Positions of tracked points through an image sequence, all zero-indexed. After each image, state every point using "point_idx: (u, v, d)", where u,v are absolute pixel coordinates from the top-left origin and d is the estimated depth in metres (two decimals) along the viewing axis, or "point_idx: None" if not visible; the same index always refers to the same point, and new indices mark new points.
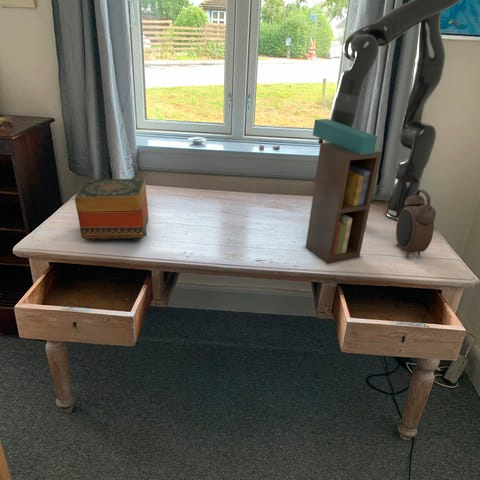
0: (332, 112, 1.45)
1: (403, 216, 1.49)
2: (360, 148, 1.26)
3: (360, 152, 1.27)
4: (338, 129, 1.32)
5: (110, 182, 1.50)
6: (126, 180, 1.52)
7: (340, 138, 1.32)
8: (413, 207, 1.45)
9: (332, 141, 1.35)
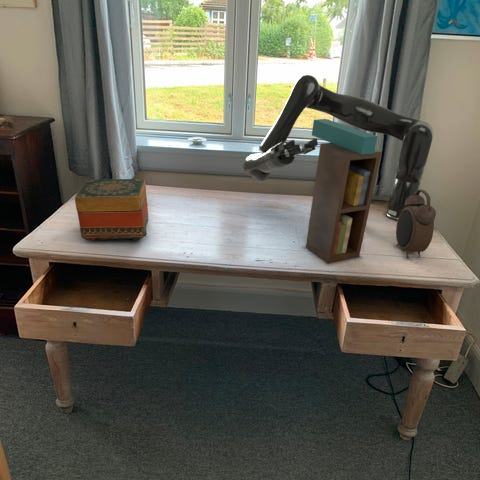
0: None
1: (403, 216, 1.49)
2: (361, 148, 1.26)
3: (361, 152, 1.27)
4: (338, 129, 1.32)
5: (110, 182, 1.50)
6: (126, 180, 1.52)
7: (340, 138, 1.32)
8: (413, 207, 1.45)
9: (332, 141, 1.35)
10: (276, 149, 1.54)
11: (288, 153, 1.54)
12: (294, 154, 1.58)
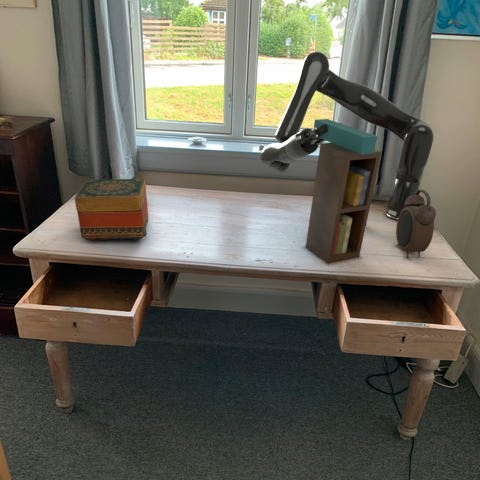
0: None
1: (403, 216, 1.49)
2: (360, 148, 1.26)
3: (360, 152, 1.27)
4: (338, 129, 1.32)
5: (110, 182, 1.50)
6: (126, 180, 1.52)
7: (340, 138, 1.32)
8: (413, 207, 1.45)
9: (332, 141, 1.35)
10: (304, 134, 1.41)
11: (317, 139, 1.42)
12: (318, 141, 1.46)
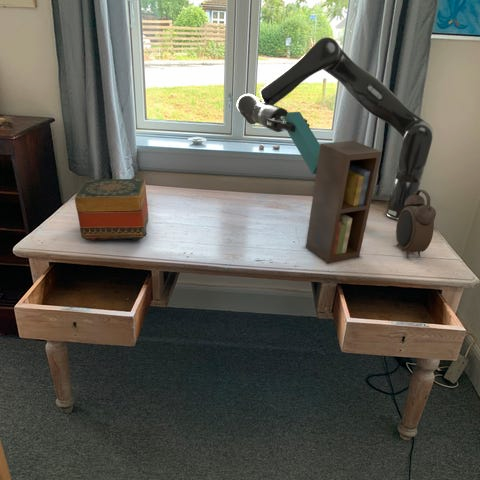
0: None
1: (403, 216, 1.49)
2: (313, 169, 1.46)
3: (312, 172, 1.46)
4: (302, 138, 1.47)
5: (110, 182, 1.50)
6: (126, 180, 1.52)
7: (302, 147, 1.48)
8: (413, 207, 1.45)
9: (295, 143, 1.51)
10: (275, 124, 1.53)
11: None
12: None
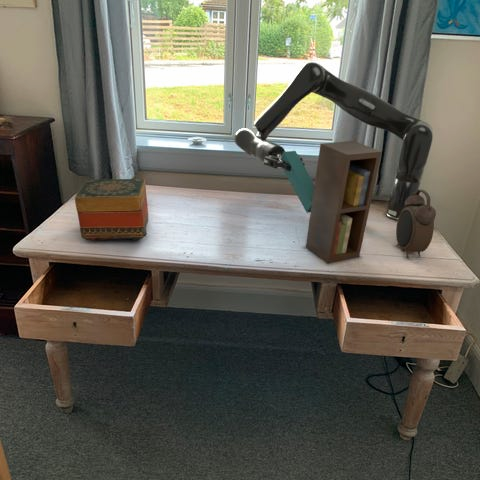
0: None
1: (403, 216, 1.49)
2: (307, 208, 1.53)
3: (307, 211, 1.53)
4: (297, 178, 1.54)
5: (110, 182, 1.50)
6: (126, 180, 1.52)
7: (297, 186, 1.55)
8: (413, 207, 1.45)
9: (291, 182, 1.58)
10: (271, 162, 1.60)
11: None
12: None
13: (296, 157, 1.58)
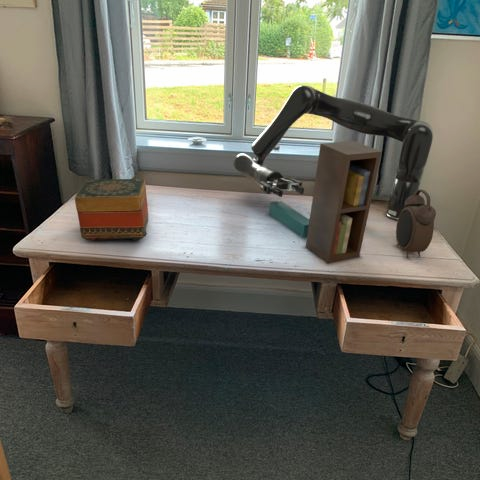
0: None
1: (403, 216, 1.49)
2: (302, 233, 1.58)
3: (302, 236, 1.58)
4: (286, 214, 1.64)
5: (110, 182, 1.50)
6: (126, 180, 1.52)
7: (288, 222, 1.64)
8: (413, 207, 1.45)
9: (282, 222, 1.67)
10: (265, 187, 1.65)
11: None
12: None
13: (282, 204, 1.71)
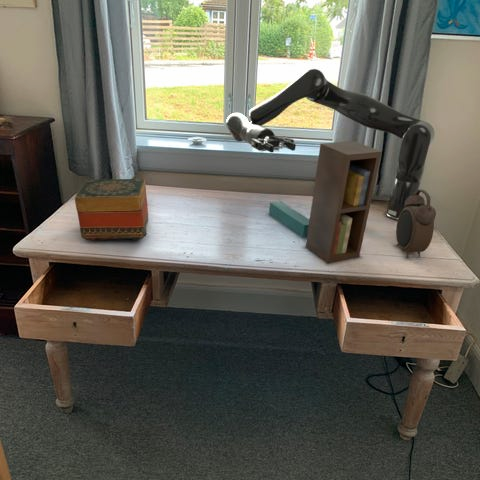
0: None
1: (403, 216, 1.49)
2: (302, 233, 1.58)
3: (302, 236, 1.58)
4: (286, 214, 1.64)
5: (110, 182, 1.50)
6: (126, 180, 1.52)
7: (288, 222, 1.64)
8: (413, 207, 1.45)
9: (282, 222, 1.67)
10: (256, 144, 1.63)
11: None
12: None
13: (282, 204, 1.71)
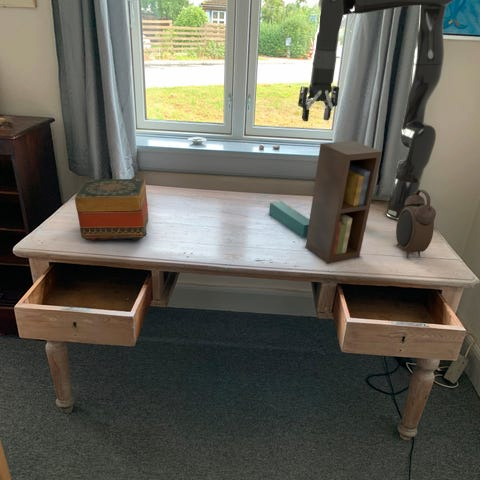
0: None
1: (403, 216, 1.49)
2: (302, 233, 1.58)
3: (302, 236, 1.58)
4: (286, 214, 1.64)
5: (110, 182, 1.50)
6: (126, 180, 1.52)
7: (288, 222, 1.64)
8: (413, 207, 1.45)
9: (282, 222, 1.67)
10: None
11: None
12: None
13: (282, 204, 1.71)
